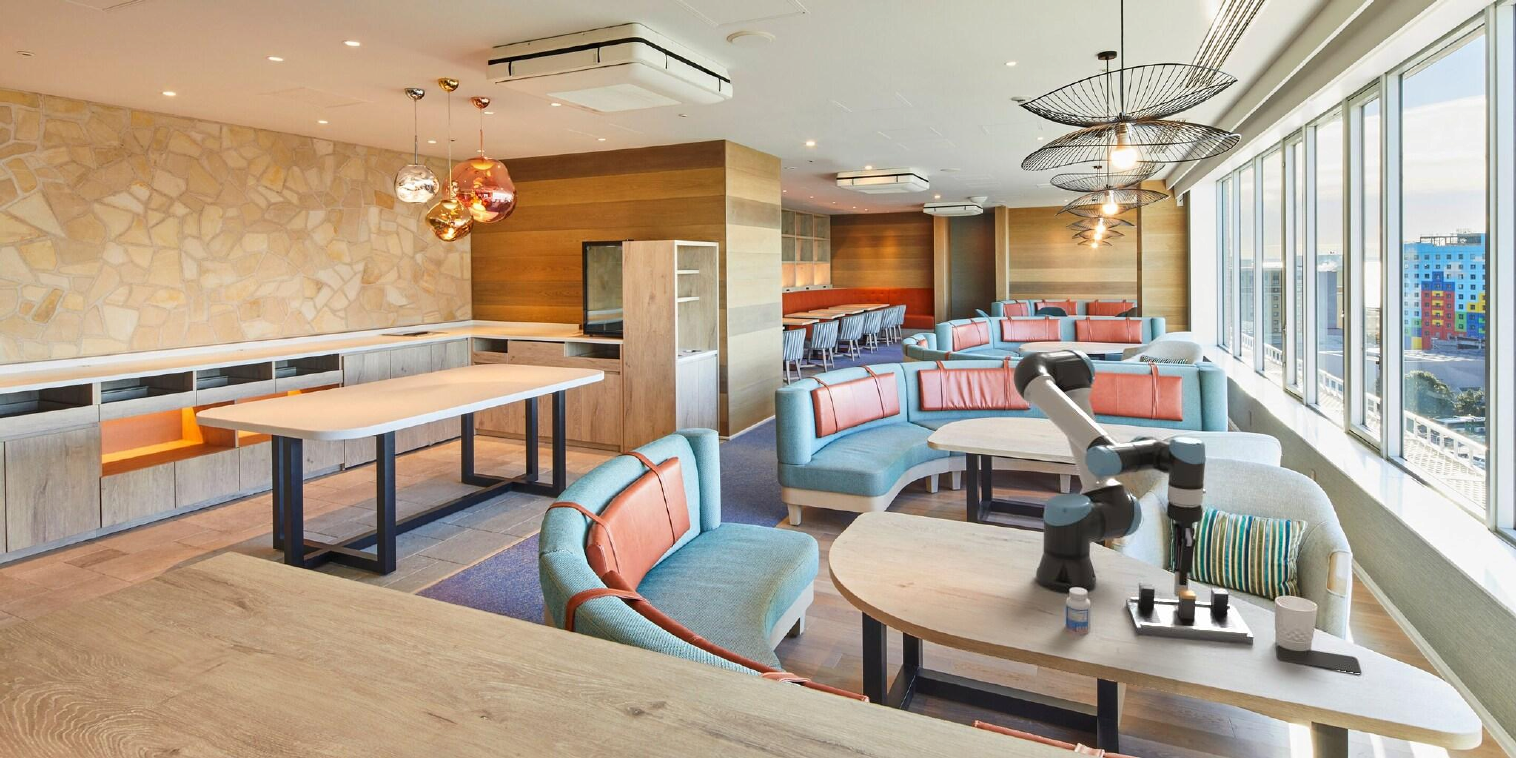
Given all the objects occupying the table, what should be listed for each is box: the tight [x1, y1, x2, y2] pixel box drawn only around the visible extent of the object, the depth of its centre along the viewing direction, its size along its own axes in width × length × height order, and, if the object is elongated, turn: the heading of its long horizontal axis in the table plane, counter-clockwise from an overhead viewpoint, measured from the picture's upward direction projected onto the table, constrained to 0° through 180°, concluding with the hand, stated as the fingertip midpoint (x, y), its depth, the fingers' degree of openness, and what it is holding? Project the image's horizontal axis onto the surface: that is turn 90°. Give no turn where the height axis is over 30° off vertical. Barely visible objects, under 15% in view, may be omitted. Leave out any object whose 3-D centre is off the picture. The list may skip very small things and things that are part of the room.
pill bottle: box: [1065, 587, 1092, 635], centre depth 194 cm, size 6×5×10 cm
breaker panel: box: [1125, 582, 1254, 646], centre depth 195 cm, size 24×16×7 cm, turn 74°
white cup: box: [1274, 595, 1318, 651], centre depth 183 cm, size 8×8×10 cm
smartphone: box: [1275, 645, 1362, 674], centre depth 177 cm, size 7×1×15 cm
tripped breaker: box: [1178, 589, 1197, 619], centre depth 195 cm, size 3×3×6 cm
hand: (1180, 595), depth 201 cm, fingers closed
